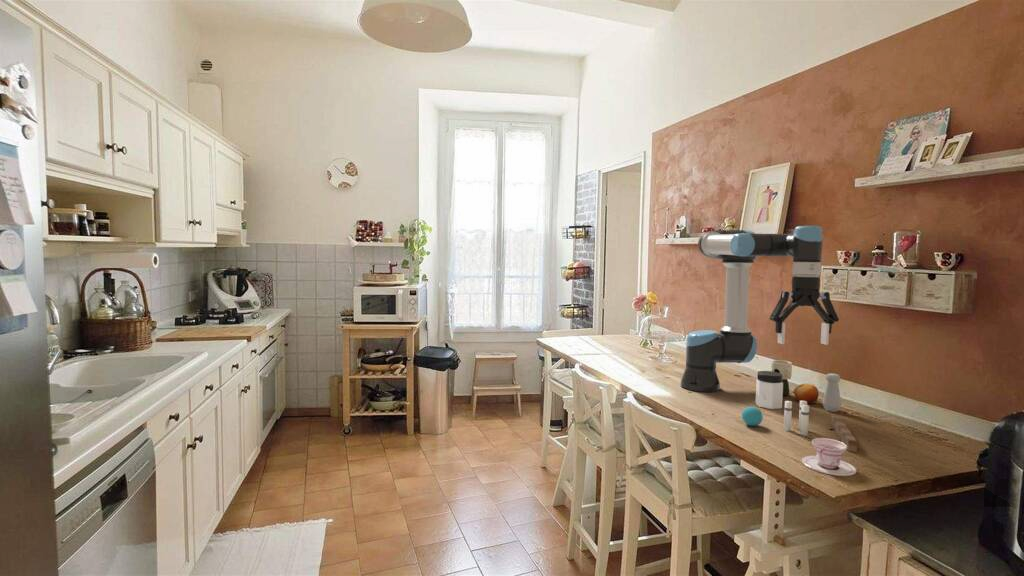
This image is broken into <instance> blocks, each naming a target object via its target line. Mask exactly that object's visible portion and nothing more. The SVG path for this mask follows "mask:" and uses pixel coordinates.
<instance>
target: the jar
mask: <svg viewBox="0 0 1024 576" xmlns="http://www.w3.org/2000/svg"><path fill="white" fill-rule="evenodd" d="M756 375H757V377H756V379H755V381H756V383H755V404H756V405H757V407H759V408H763V409H769V410H778V409H783V399H784V398H783V396H784V395H783V382H782V377H783V375H782V374H781V373H778V372H772V370H771V371H770V370H760V371H757V374H756Z"/></svg>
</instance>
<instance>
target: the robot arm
mask: <svg viewBox="0 0 1024 576" xmlns="http://www.w3.org/2000/svg"><path fill="white" fill-rule="evenodd" d="M823 240H824V237H823V228H822V227H821V226H819V225H801V226H800V225H799V226H796V227H795V228H794V232H793V233H757V232H756V233H755V232H754V231H752V230H745V229H740V230H738V229H729V230H726V229H725V230H723V229H715V230H714V229H713V230H710V231H706V232H705V233H702V235H701V236H700V237H699V239H698V242H697V248H698V251H699V252H700V254H701V255H703V256H704V257H706V258H709V259H718V260H719V259H720V260H722V265H723V266H724V267H725V289H724V291H725V295H724V297H725V299H724V325H723V326H722V327H721V328H720V329H719V330H720V331H719V333H718V332H717V331H716V330H714V329H713V330H711V329H701V330H695V331H691V332H689V333H688V334H687V336H686V343H685V345H686V352H685V353H686V355H685V369H684V371H683V374H682V377H681V379H680V386H682V388H683V387H684V388H683V389H685V388H687V389H686V390H688V389H690V390H689V391H693V390H694V391H693V392H699V391H700V393H713V392H718V391H720V389H721V383H720V379H719V376H718V374H717V364H718V363H719V364H721V363H723V364H725V363H726V364H727V363H728V364H729V363H731V364H734V363H735V364H743V363H744V364H745V363H746V364H747V363H750V362H751V361H753V359H754V358H755V356H756V354H757V350H758V342H757V338H756V336H755V335H754V334H752V330H751V329H750V328H749V327H748V317H749V316H748V315H749V312H748V311H749V286H750V285H749V281H750V268H751V267H752V265H754V262H755V261H754V260H756V259H758V258H759V257H778V258H779V257H780V258H791V257H792V258H793V259H792V271H791V272H792V275H794V276H791V291H786V290H783V291H781V293H780V297H779V300H778V301H777V303H776V305H775V307H774V309H773V310H772V312H771V314H770V316H769V320H770V321H773V322H775V333H777V341H776V342H777V343H778V344H781V345H785V341H786V340H785V339H786V338H785V337H786V323H785V320H786V319H787V318H788V317H789V316H790V315H791V314H792V313H793V312H794V310H795V309H797V308H798V307H799V306H800V307H812V308H813V309H814V310H815V312H816V313H817V315H818V316H819V317H820V318H821V319H822V320H823V322H821V328H820V344H823V345H825V346H828V345H829V340H830V339H829V337H830V335H829V334H832V329H833V324H835V323H838V322H839V320H840V319H839V316H838V315H837V312H836V310H835V308H834V306H833V303H832V301H831V297H830V291H821V292H820V286H821V278H820V275H821V269H822V268H821V266H822V265H821V264H822V263H821V262H822V251H823ZM790 298H791V301H789V303H788V300H789V299H790ZM818 299H821V302H822V304H823V306H824V308H823V306H822V305H821V303H820V302H819V301H818ZM787 303H788V305H787ZM786 305H787V306H786Z"/></svg>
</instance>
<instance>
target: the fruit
mask: <svg viewBox="0 0 1024 576" xmlns="http://www.w3.org/2000/svg"><path fill="white" fill-rule="evenodd" d="M793 393H794V396H795V398H796V399H797V400H798V401H799V402H800V401H807V405H809V404H817V402H818V399H819V396H820V395H819V389H818V387H817V386H815V384H812V383H802V384H799V385H797V386H796V387H795V388H794V390H793Z"/></svg>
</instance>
